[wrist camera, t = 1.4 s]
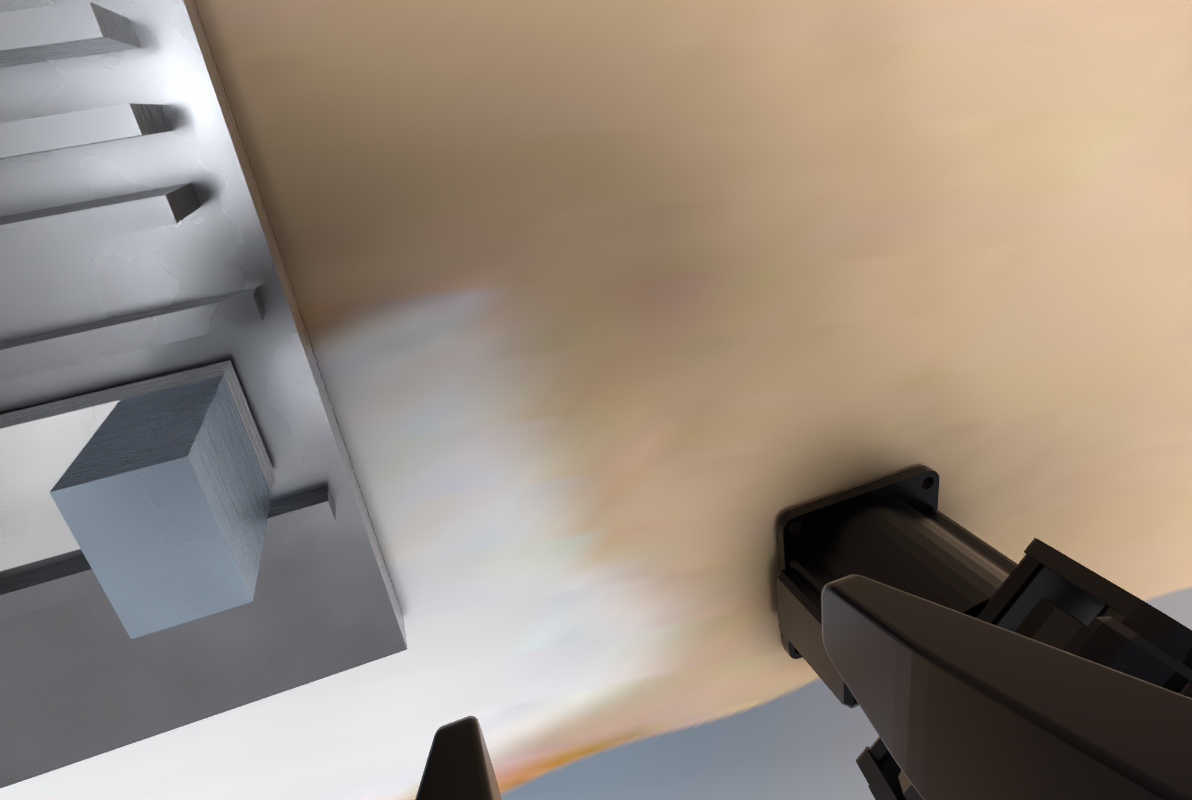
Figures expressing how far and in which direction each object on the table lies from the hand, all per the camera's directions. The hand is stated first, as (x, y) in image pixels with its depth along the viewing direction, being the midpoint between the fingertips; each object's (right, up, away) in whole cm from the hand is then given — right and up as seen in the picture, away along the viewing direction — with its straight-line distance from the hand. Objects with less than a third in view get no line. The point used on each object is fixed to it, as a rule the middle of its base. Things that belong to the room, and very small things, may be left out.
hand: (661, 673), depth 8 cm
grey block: (-12, +2, +8) cm, 14 cm away
